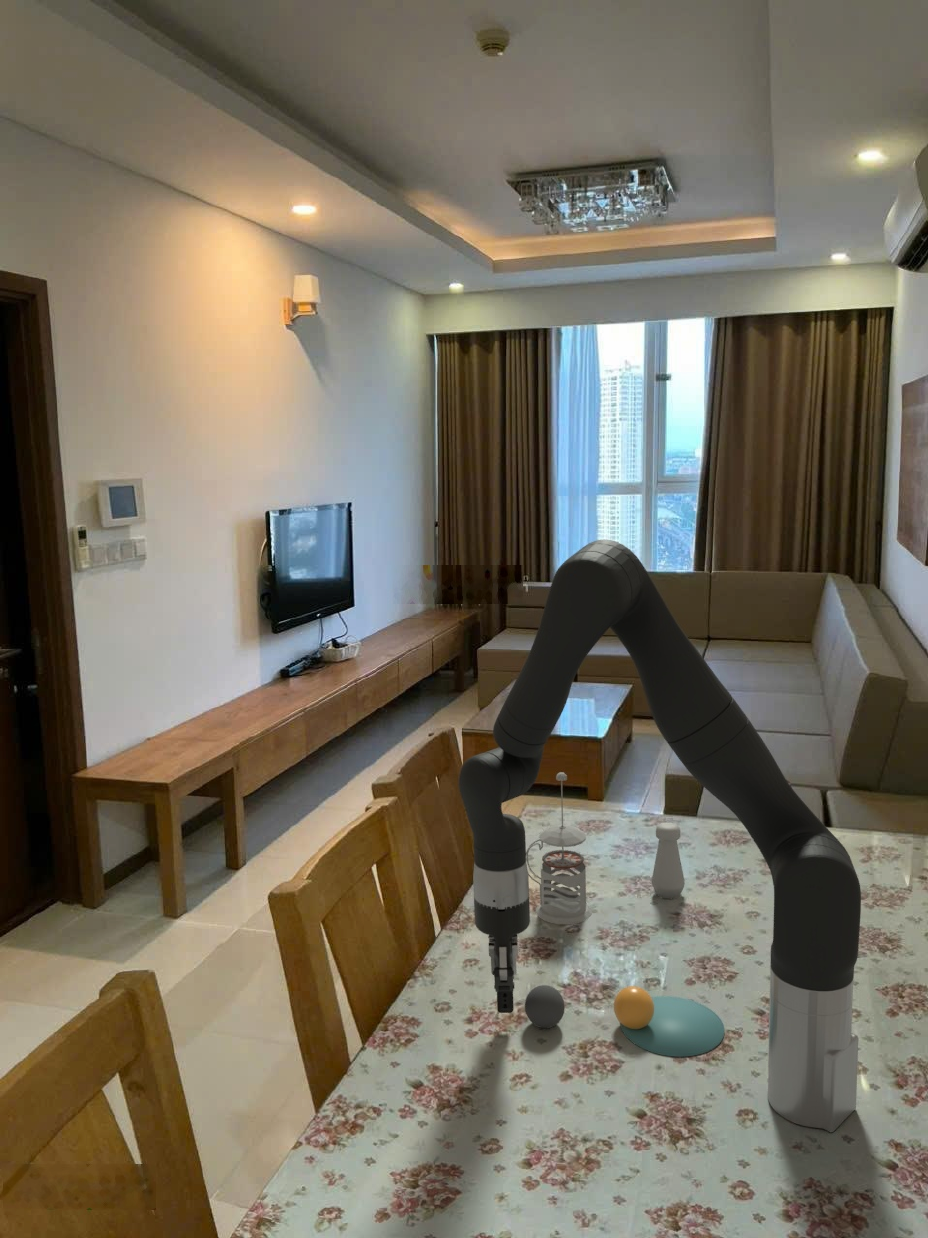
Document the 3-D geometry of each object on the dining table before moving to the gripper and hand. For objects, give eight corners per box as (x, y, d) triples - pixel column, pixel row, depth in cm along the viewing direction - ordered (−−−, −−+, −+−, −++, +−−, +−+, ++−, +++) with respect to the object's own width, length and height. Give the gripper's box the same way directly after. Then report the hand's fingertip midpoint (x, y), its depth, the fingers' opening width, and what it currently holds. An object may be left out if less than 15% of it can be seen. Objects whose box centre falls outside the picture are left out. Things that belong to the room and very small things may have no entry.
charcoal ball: (511, 997, 133) (523, 1033, 134) (542, 1002, 129) (554, 1039, 130) (535, 975, 137) (547, 1010, 138) (565, 979, 133) (577, 1015, 134)
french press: (586, 927, 161) (584, 784, 157) (518, 919, 165) (515, 779, 161) (597, 901, 170) (595, 765, 166) (533, 894, 174) (530, 761, 170)
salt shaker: (661, 884, 176) (661, 816, 174) (690, 892, 173) (690, 823, 170) (645, 896, 172) (645, 826, 170) (675, 904, 168) (675, 833, 166)
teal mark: (744, 1025, 132) (744, 1023, 132) (685, 1070, 123) (685, 1069, 123) (659, 986, 142) (659, 985, 142) (599, 1026, 133) (599, 1025, 133)
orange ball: (599, 1009, 133) (624, 1038, 133) (624, 1009, 128) (650, 1039, 129) (618, 978, 136) (642, 1006, 137) (643, 977, 132) (668, 1006, 132)
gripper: (475, 872, 137) (479, 984, 140) (471, 916, 124) (477, 1039, 127) (527, 871, 137) (531, 984, 140) (530, 914, 124) (534, 1038, 127)
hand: (505, 1010), depth 133 cm, fingers closed
